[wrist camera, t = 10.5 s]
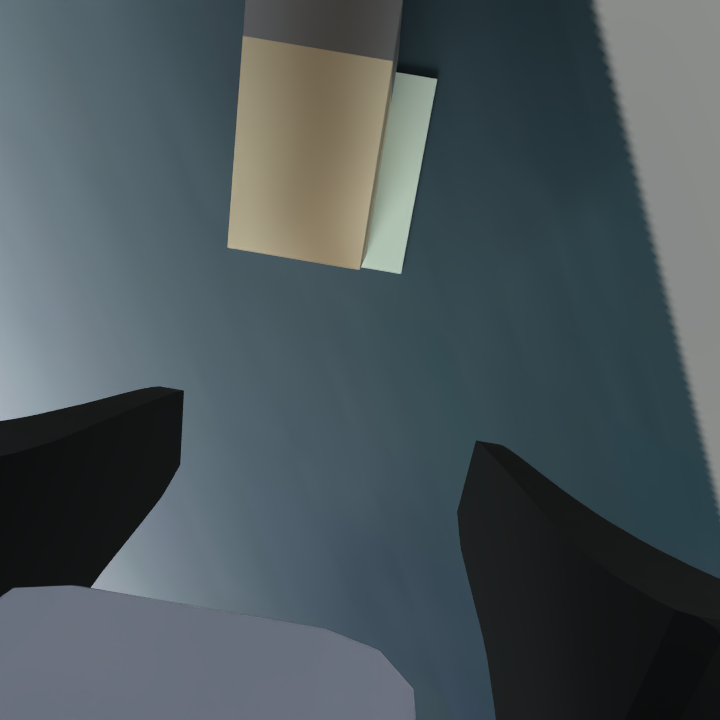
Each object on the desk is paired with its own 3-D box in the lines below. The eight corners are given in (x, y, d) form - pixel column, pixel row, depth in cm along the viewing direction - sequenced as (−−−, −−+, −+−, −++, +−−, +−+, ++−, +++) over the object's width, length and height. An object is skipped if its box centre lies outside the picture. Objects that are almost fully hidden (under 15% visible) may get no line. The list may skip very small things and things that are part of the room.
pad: (232, 244, 19) (229, 244, 19) (247, 50, 17) (244, 46, 17) (400, 272, 19) (400, 273, 19) (436, 82, 17) (437, 79, 17)
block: (267, 238, 19) (227, 247, 14) (287, 38, 17) (247, -32, 12) (366, 255, 19) (359, 269, 14) (398, 57, 17) (403, -6, 12)
